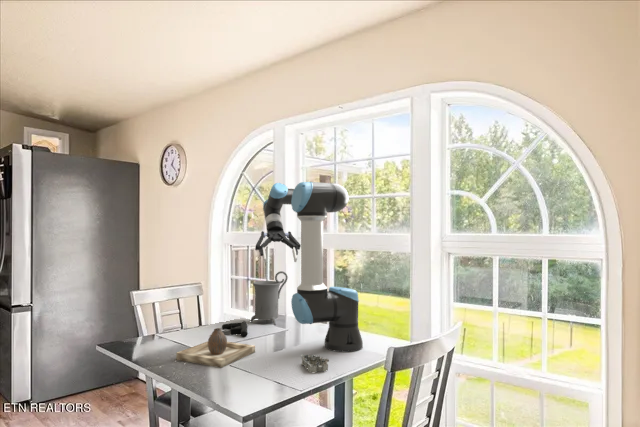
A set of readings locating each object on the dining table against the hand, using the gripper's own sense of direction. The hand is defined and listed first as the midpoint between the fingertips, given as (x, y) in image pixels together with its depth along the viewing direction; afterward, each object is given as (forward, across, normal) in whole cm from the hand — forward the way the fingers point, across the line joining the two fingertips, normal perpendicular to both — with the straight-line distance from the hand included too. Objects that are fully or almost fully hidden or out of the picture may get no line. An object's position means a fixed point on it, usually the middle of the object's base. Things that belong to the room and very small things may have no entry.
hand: (280, 260), depth 189 cm
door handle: (+14, +20, -33) cm, 41 cm away
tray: (+38, +28, -8) cm, 48 cm away
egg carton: (+54, -3, +7) cm, 55 cm away
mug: (+3, 0, -44) cm, 44 cm away
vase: (+37, +28, -8) cm, 47 cm away
